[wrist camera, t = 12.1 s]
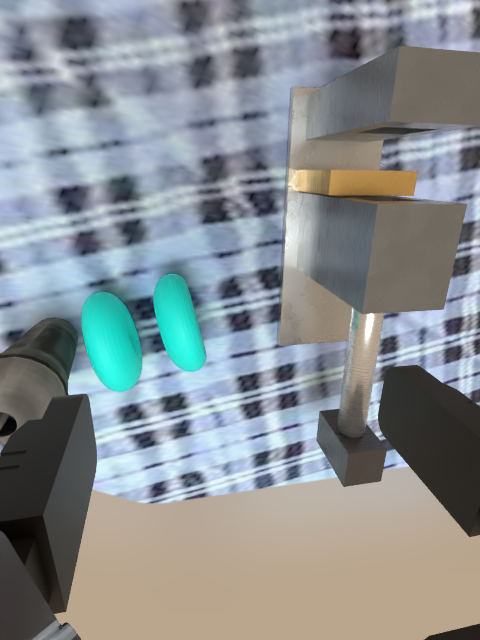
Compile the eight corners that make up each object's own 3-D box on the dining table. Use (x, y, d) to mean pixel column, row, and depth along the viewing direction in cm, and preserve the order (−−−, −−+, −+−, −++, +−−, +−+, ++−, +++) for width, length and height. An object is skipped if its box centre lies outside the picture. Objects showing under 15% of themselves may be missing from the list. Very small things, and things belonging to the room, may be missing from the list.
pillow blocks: (290, 88, 36) (378, 33, 22) (384, 94, 38) (522, 46, 24) (276, 342, 46) (330, 421, 32) (352, 336, 48) (436, 409, 34)
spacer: (298, 170, 38) (331, 169, 31) (370, 171, 40) (417, 171, 33) (297, 190, 39) (328, 195, 32) (368, 191, 41) (413, 195, 33)
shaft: (341, 210, 34) (383, 219, 28) (381, 210, 35) (431, 219, 28) (316, 440, 43) (343, 486, 37) (348, 436, 44) (380, 481, 38)
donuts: (87, 284, 39) (66, 318, 30) (180, 260, 40) (187, 286, 31) (119, 365, 43) (108, 416, 34) (203, 341, 44) (214, 385, 35)
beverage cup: (105, 332, 42) (62, 458, 23) (64, 378, 43) (-7, 533, 24) (45, 291, 39) (-56, 398, 21) (3, 341, 40) (-129, 485, 22)
